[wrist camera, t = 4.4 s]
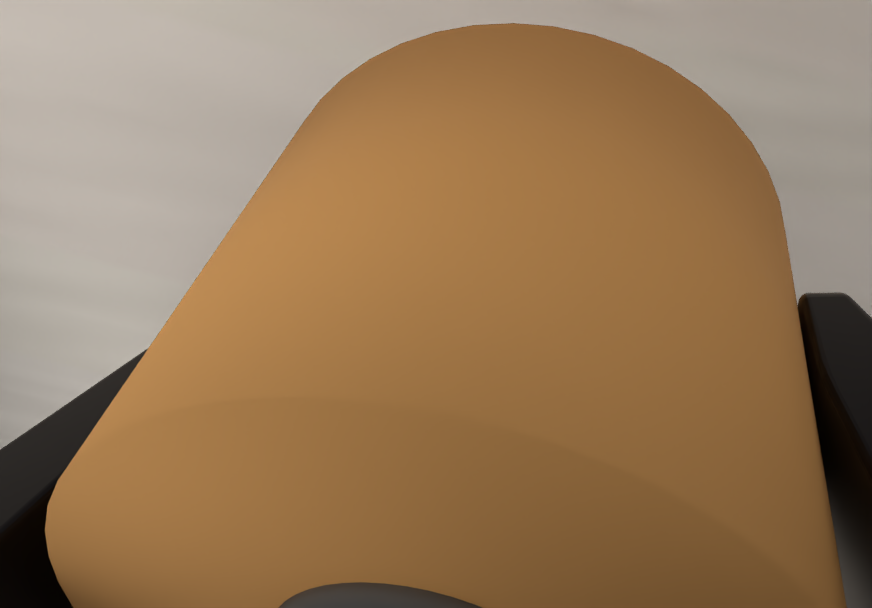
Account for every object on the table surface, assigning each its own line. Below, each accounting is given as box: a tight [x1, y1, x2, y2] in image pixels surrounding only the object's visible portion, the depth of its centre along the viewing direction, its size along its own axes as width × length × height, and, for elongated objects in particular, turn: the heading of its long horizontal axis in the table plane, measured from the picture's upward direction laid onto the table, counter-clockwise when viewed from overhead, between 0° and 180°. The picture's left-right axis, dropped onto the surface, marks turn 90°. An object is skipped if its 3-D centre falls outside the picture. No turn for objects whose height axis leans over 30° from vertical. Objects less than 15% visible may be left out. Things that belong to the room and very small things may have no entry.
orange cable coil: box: [45, 23, 847, 608], centre depth 8 cm, size 6×6×5 cm
